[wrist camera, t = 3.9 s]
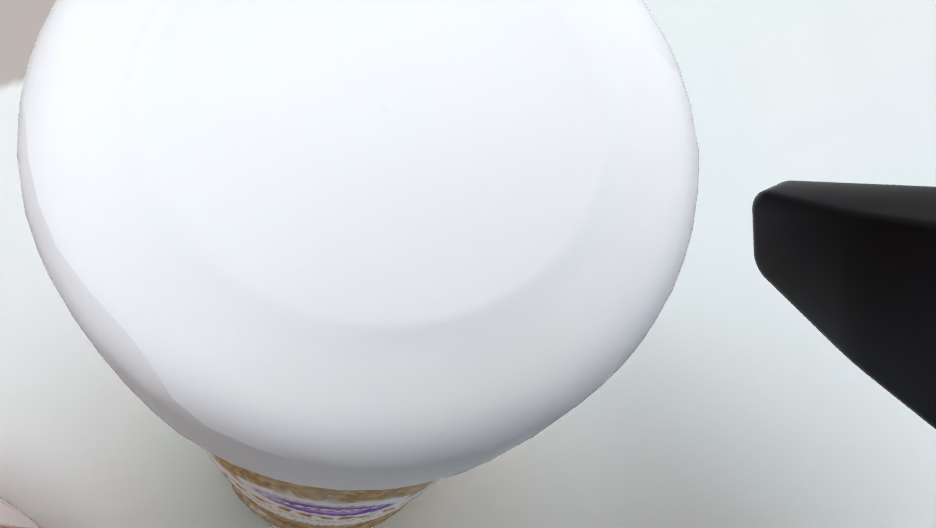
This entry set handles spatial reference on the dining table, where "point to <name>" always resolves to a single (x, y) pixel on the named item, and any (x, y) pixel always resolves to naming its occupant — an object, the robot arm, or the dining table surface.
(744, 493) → the dining table surface
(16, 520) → the bowl
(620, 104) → the sprinkles bottle
